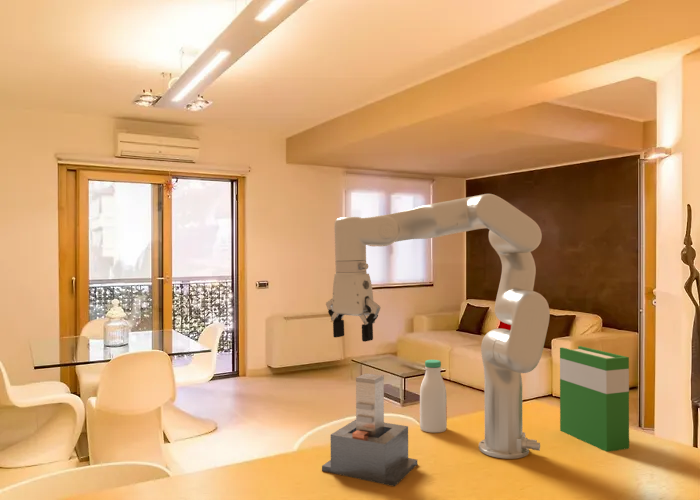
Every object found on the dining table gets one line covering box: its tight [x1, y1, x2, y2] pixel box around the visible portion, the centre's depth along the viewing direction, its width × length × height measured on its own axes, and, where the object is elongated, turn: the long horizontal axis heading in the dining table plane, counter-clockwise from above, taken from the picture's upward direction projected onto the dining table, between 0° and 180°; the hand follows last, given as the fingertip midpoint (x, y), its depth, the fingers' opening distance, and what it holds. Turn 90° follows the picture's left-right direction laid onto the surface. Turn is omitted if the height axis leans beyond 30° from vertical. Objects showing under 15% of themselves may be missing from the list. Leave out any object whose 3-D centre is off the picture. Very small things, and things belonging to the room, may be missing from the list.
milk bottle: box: [419, 359, 448, 434], centre depth 162 cm, size 8×8×20 cm
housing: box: [321, 419, 418, 487], centre depth 133 cm, size 19×14×10 cm
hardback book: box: [559, 345, 630, 453], centre depth 153 cm, size 18×7×24 cm, turn 19°
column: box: [355, 373, 385, 438], centre depth 133 cm, size 5×6×22 cm
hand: (352, 338), depth 134 cm, fingers open, 9 cm apart
